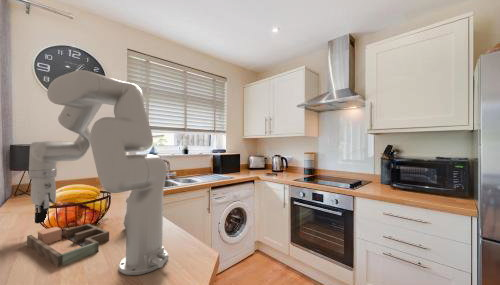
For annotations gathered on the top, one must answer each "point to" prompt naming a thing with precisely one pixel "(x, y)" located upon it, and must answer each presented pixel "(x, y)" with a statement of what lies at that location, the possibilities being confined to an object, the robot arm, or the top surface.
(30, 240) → the channel
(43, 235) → the block
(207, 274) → the top surface
